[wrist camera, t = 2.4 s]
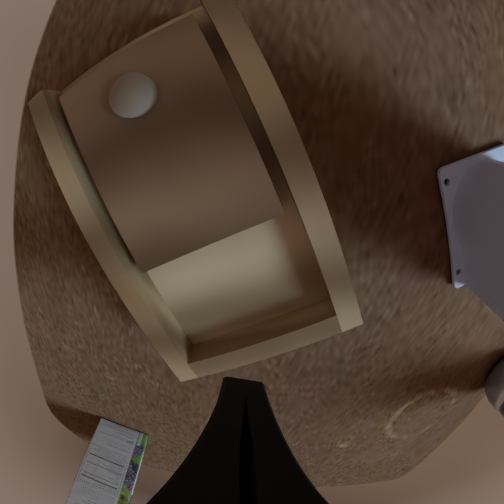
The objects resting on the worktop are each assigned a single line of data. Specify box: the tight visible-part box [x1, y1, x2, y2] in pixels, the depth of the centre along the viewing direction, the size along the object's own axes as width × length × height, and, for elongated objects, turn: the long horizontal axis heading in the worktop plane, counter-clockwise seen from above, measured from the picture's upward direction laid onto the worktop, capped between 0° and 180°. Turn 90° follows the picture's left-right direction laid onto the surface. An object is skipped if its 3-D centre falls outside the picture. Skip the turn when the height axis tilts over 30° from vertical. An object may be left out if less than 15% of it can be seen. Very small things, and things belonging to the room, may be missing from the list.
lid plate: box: [59, 14, 285, 273], centre depth 12 cm, size 10×7×2 cm
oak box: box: [28, 0, 363, 382], centre depth 15 cm, size 18×11×5 cm, turn 23°
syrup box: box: [65, 418, 148, 504], centre depth 21 cm, size 6×6×14 cm
